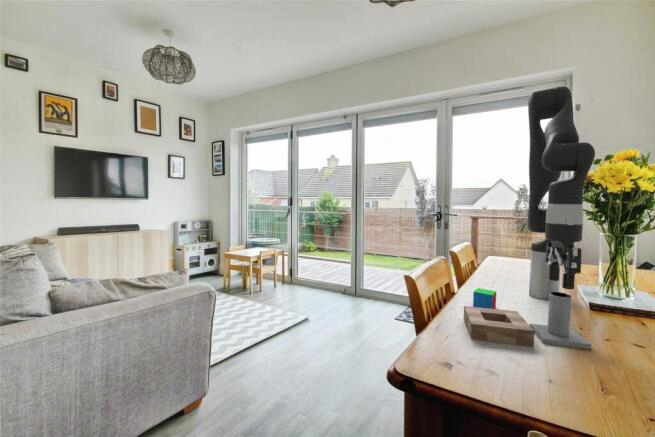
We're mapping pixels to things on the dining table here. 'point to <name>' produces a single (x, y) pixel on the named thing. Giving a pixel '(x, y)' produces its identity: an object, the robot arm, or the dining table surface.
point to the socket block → (498, 326)
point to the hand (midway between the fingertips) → (560, 284)
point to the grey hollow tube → (559, 313)
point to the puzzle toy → (484, 298)
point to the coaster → (560, 337)
